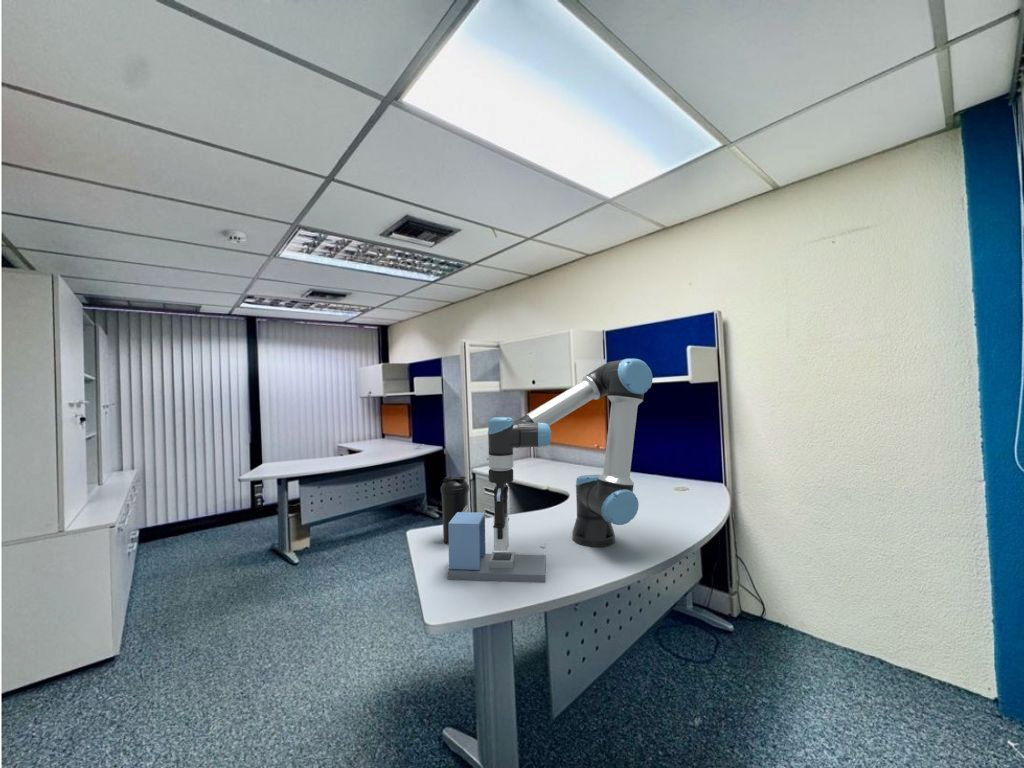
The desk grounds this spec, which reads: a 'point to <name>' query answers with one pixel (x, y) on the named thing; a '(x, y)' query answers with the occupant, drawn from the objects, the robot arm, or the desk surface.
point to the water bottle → (453, 500)
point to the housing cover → (466, 540)
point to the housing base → (505, 568)
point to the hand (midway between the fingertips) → (501, 546)
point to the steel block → (505, 533)
